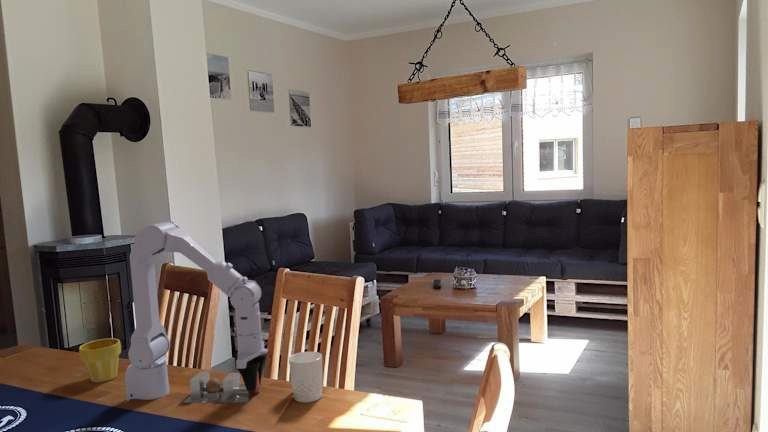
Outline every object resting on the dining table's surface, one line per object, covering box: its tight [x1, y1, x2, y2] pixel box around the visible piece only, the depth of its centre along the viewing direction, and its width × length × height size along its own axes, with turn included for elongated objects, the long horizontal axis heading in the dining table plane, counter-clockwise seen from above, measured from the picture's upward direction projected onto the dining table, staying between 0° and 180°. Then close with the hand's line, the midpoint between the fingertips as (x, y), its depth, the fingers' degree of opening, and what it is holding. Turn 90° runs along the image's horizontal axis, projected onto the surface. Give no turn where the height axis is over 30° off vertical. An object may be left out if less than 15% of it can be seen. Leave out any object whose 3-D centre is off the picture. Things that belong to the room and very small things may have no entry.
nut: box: [206, 377, 222, 393], centre depth 148 cm, size 4×4×4 cm
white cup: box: [288, 351, 323, 403], centre depth 145 cm, size 8×8×10 cm
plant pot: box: [78, 337, 122, 383], centre depth 166 cm, size 10×10×10 cm
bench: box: [182, 370, 263, 404], centre depth 147 cm, size 16×11×6 cm
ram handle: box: [222, 372, 261, 395], centre depth 147 cm, size 8×5×5 cm, turn 83°
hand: (253, 387), depth 146 cm, fingers closed on ram handle, 3 cm apart
